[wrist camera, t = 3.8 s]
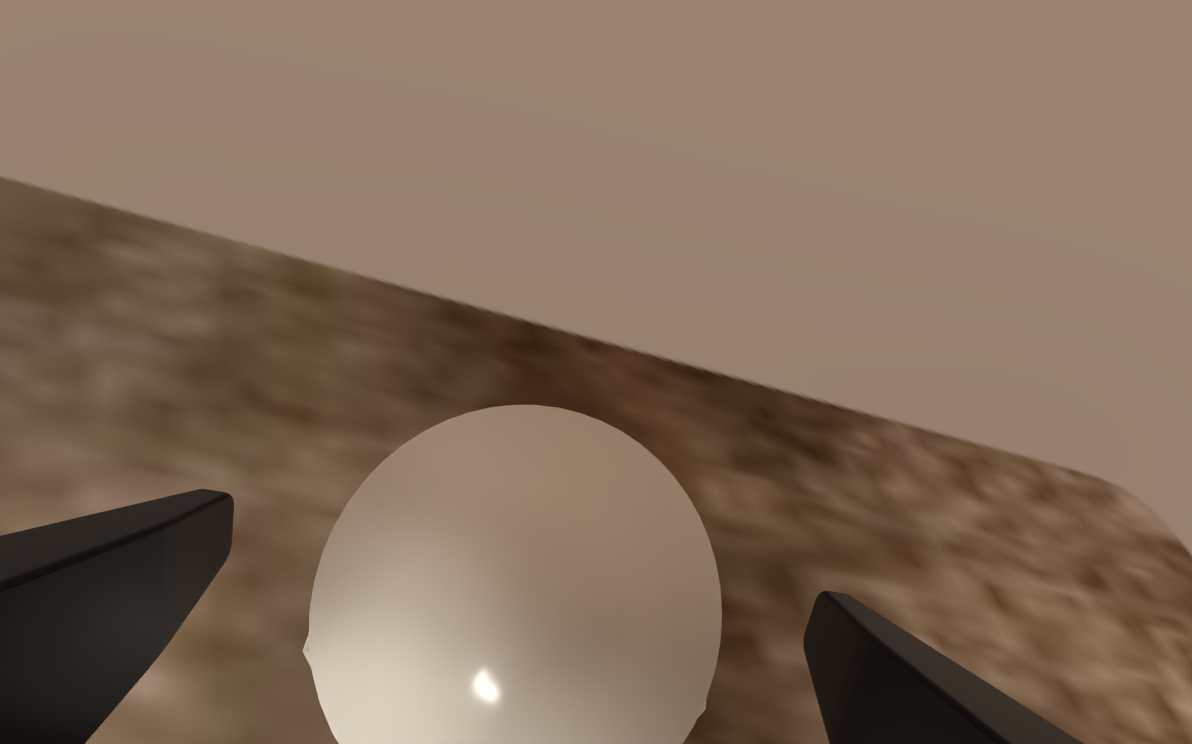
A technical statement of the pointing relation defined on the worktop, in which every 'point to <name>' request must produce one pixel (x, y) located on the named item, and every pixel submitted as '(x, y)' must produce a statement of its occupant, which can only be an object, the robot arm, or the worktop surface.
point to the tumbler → (516, 591)
